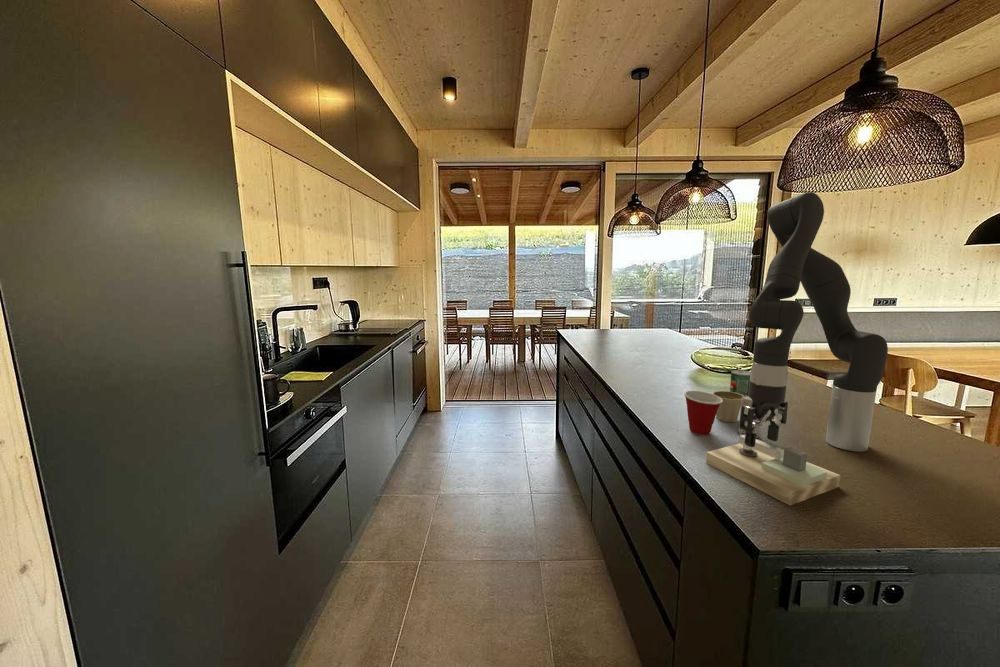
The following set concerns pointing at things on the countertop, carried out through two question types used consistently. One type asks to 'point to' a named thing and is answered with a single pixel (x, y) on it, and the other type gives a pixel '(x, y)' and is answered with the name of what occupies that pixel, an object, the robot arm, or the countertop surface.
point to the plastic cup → (701, 411)
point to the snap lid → (794, 468)
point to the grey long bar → (762, 448)
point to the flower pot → (728, 406)
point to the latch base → (767, 474)
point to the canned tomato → (740, 382)
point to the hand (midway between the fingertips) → (761, 443)
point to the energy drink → (746, 402)
